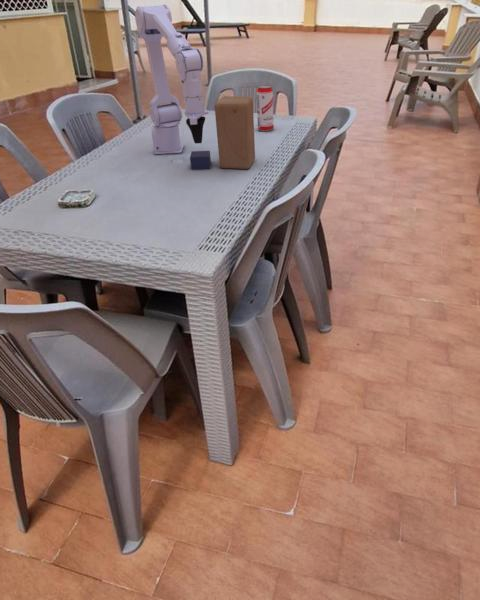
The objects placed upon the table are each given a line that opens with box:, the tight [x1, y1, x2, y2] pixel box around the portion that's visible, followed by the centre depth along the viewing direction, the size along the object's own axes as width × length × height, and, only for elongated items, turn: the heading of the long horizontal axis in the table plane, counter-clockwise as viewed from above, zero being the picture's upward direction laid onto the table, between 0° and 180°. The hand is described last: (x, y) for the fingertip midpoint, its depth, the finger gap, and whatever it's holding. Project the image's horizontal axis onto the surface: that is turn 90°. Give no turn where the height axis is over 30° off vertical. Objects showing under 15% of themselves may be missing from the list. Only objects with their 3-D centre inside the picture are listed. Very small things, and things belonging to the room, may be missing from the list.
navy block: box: [189, 150, 212, 170], centre depth 150 cm, size 6×6×4 cm
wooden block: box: [214, 95, 256, 170], centre depth 146 cm, size 10×10×20 cm
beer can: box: [256, 84, 275, 133], centre depth 179 cm, size 6×6×16 cm
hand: (198, 142), depth 144 cm, fingers closed
